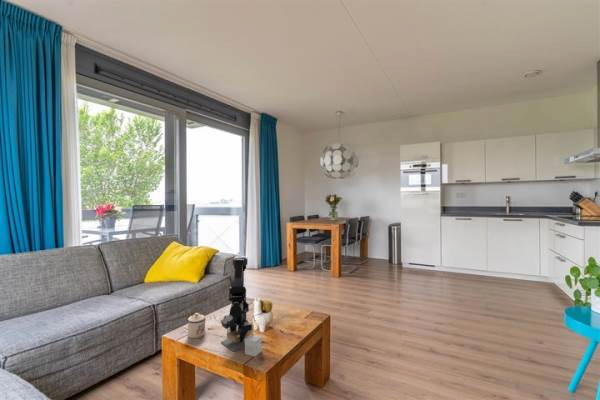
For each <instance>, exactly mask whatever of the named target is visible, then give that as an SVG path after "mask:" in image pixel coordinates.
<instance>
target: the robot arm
mask: <svg viewBox="0 0 600 400" xmlns="http://www.w3.org/2000/svg"><path fill="white" fill-rule="evenodd" d="M247 265H248V257H246V256H245V255H244V256H243V255H242V256H235V257H234V258H232V266H233V268H234V277H233V280H232V281H231V284H230V287H229V292H228V294H229V295H228V296H229V297H228V301H229V302H231V305H230V308H229V313H228V314H227V315H224V316H223V318H222V319H221V320H220V323H221V326H222V327H223V328H225V330H227V329H228V328H230V331H231V332H232V331H235V330H236V328H237V325H238V332H239V335H240V342H243V340H244V338H245V336H246V334H248V332H249V331H252V330H253V325H252V324H251V323H249V322H248V319H247V313H248V312H249V310H250V307H249V303H248V301H247V288H246V286H245V285H244V284H245V277H244V276H245V270H246V269H247Z"/></svg>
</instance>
